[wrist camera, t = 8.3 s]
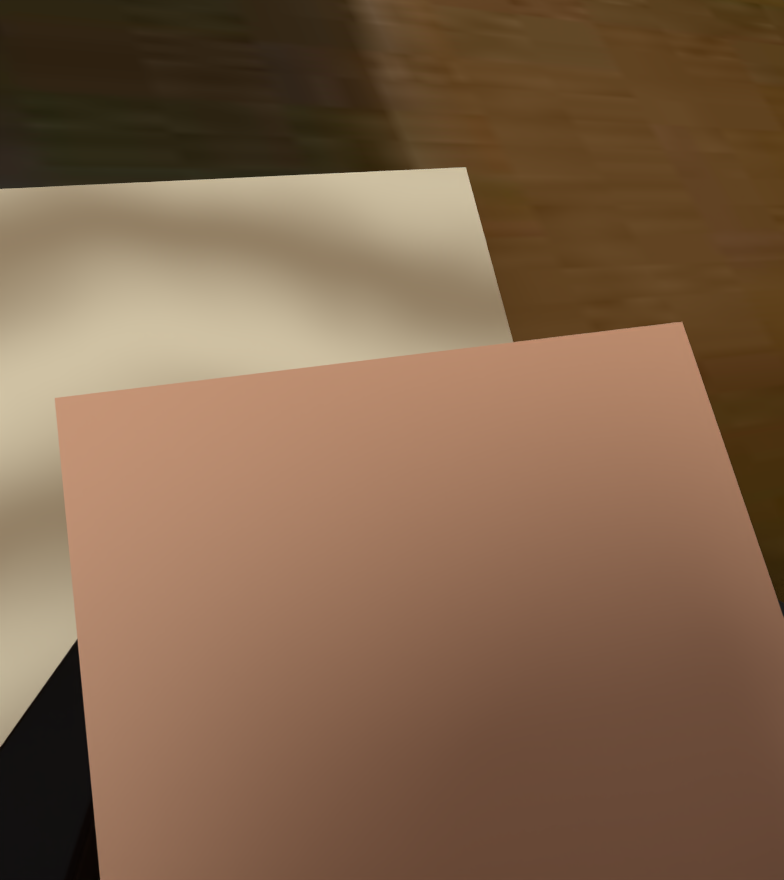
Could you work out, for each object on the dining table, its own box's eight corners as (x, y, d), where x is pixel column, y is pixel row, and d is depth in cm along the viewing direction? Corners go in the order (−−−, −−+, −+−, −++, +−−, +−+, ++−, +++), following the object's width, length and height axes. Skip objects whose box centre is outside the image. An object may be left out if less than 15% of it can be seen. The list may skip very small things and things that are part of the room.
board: (626, 827, 18) (684, 857, 15) (14, 1036, 14) (-34, 1120, 12) (456, 186, 22) (481, 134, 20) (-41, 214, 19) (-82, 153, 16)
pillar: (462, 746, 14) (910, 982, 5) (221, 816, 13) (145, 1342, 3) (412, 516, 15) (682, 322, 6) (186, 558, 14) (55, 398, 4)
